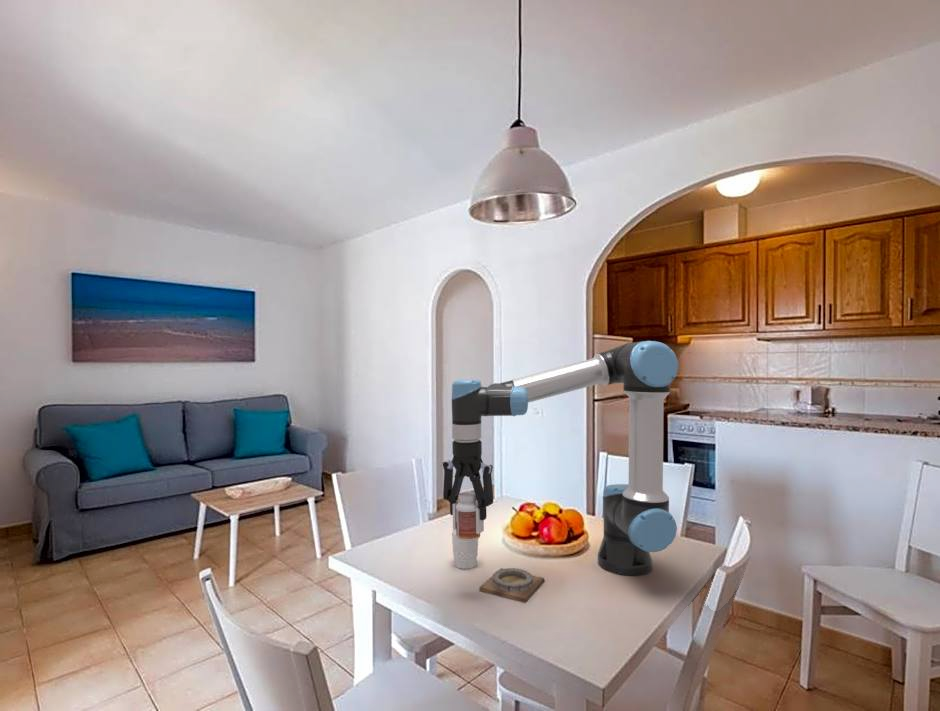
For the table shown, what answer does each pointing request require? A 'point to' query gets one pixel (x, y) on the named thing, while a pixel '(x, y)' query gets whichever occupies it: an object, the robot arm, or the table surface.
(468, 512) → the pill bottle
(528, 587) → the socket base
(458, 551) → the white cup
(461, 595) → the table surface
